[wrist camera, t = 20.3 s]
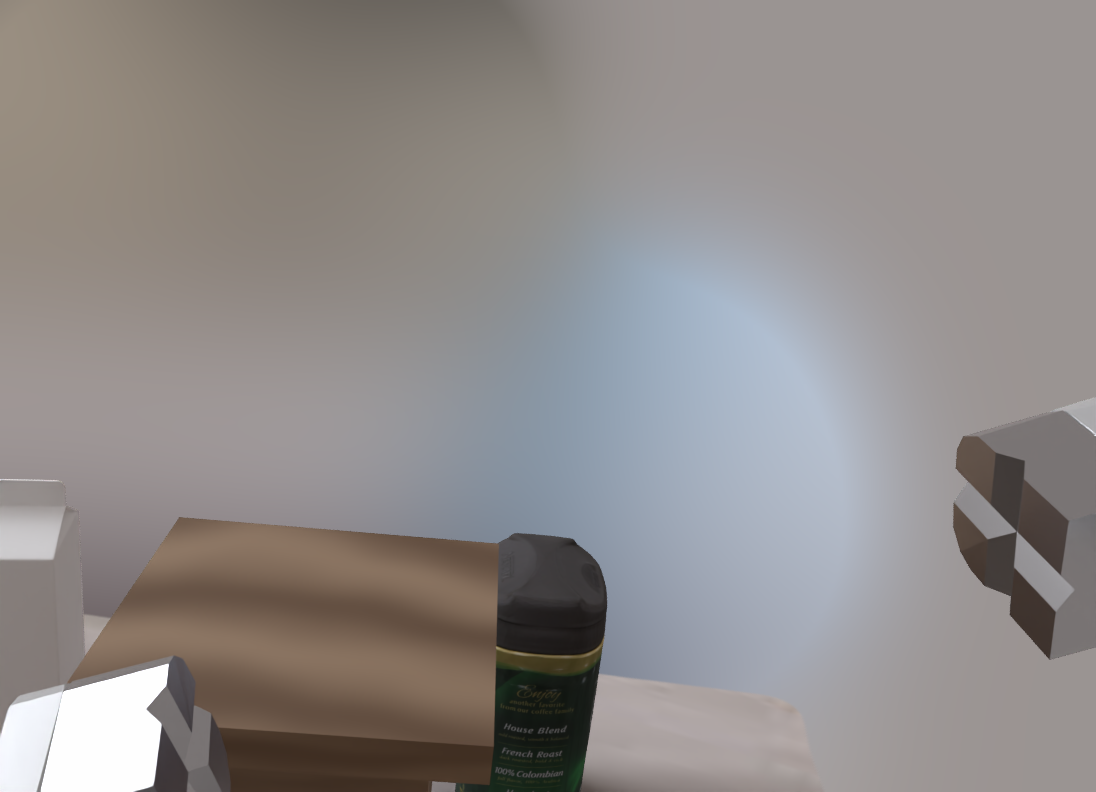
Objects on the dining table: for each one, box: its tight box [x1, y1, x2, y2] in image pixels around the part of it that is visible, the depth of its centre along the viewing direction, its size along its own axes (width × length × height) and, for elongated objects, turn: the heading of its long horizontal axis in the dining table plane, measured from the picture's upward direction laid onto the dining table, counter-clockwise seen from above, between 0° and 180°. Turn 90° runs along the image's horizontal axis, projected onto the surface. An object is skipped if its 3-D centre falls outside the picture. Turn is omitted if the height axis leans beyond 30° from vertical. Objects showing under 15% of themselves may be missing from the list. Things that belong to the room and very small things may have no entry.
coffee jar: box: [455, 533, 607, 792], centre depth 65 cm, size 10×8×19 cm
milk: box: [0, 479, 85, 733], centre depth 60 cm, size 6×6×22 cm
